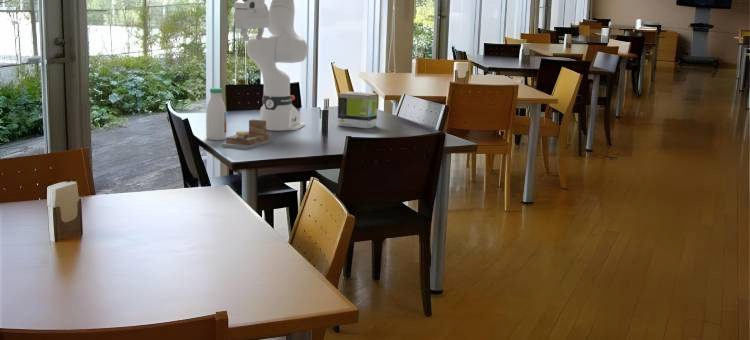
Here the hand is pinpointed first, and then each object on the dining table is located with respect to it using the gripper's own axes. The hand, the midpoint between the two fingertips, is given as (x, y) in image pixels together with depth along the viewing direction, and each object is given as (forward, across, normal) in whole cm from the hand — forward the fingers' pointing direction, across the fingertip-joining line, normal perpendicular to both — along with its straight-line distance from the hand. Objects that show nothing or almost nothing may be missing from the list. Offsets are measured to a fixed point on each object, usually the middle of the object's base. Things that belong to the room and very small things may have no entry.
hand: (252, 40), depth 327 cm
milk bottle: (+39, +4, -14) cm, 42 cm away
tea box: (+39, -57, +19) cm, 72 cm away
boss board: (+39, +6, +2) cm, 40 cm away
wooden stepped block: (+38, +6, +2) cm, 38 cm away
